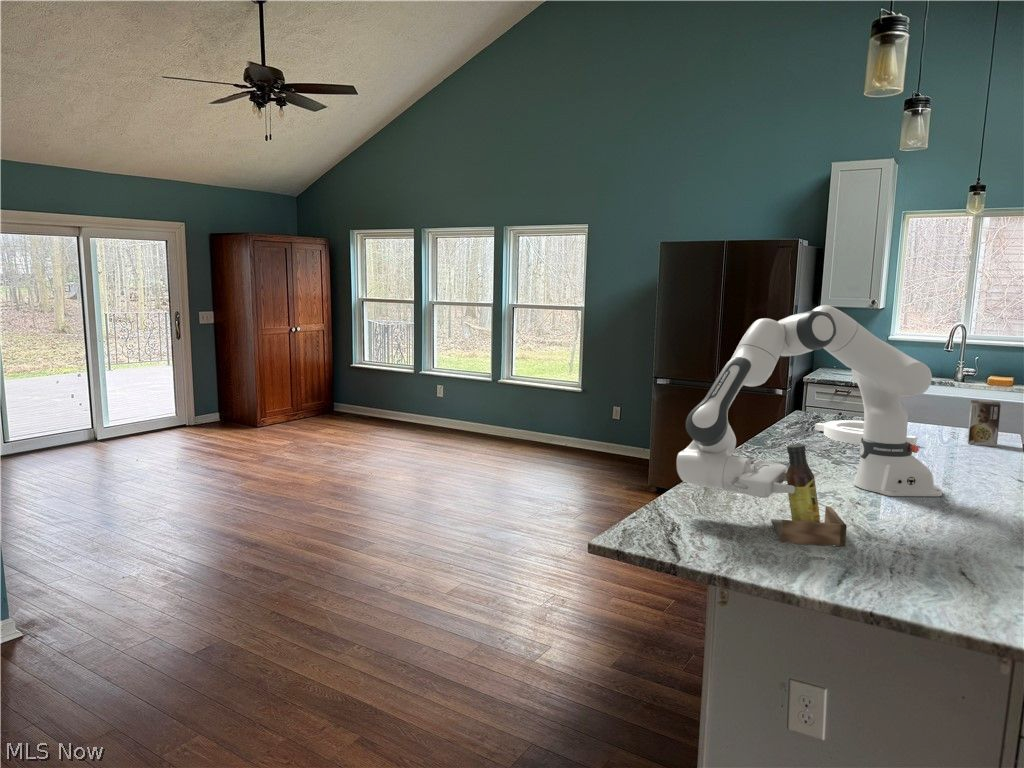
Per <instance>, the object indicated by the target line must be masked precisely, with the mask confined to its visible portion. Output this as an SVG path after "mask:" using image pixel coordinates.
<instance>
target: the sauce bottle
mask: <svg viewBox="0 0 1024 768" xmlns="http://www.w3.org/2000/svg"><path fill="white" fill-rule="evenodd" d="M786 452H787V454H788V458H789V460H788V463H789V467H788V470H787V473H786V478H787V481H786V483H787V484H791V485H795V486H796V488H795V492H794V493H793V494H791V493H787V494H788V495H787V496H788V502H789V508H790V517H791V520H794V521H808V522H821V515H820V510H819V500H818V494H817V486H816V480H815V474H814V473H813V472H812V470H811V468H810V466H809V464H808V461H807V456H806V445H805V444H803V443H793V444H788V445H787V446H786Z"/></svg>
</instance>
